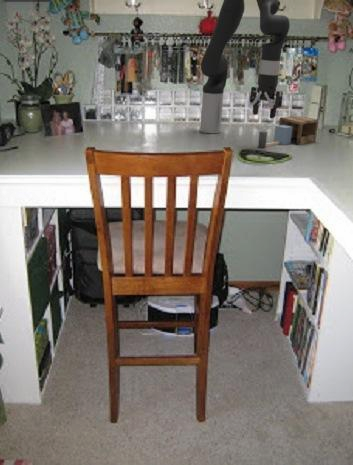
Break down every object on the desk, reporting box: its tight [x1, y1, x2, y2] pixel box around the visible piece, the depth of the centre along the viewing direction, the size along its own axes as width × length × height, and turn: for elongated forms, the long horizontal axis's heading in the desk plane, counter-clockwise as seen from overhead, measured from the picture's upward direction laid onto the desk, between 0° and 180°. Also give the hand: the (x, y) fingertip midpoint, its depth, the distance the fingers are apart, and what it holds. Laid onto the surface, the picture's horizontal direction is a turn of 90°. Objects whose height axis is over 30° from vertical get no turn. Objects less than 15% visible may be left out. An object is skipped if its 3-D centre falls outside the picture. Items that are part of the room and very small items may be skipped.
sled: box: [257, 124, 293, 149], centre depth 193 cm, size 18×5×7 cm, turn 132°
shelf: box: [278, 115, 319, 146], centre depth 201 cm, size 12×11×10 cm
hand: (263, 116), depth 184 cm, fingers open, 8 cm apart
